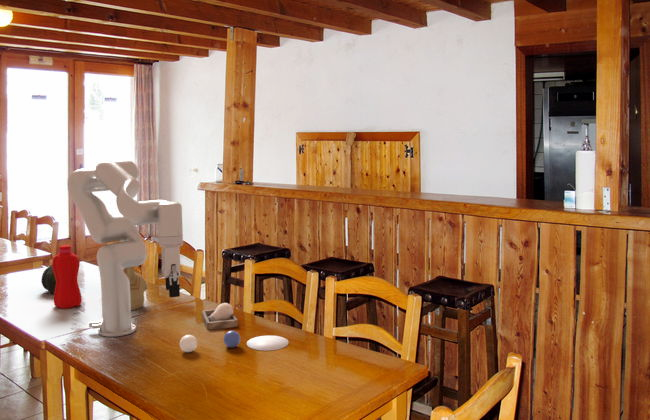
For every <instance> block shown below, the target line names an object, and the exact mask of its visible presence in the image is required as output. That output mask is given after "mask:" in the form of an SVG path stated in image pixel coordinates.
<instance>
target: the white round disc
mask: <svg viewBox="0 0 650 420" xmlns="http://www.w3.org/2000/svg"><path fill="white" fill-rule="evenodd" d="M289 343H290V342H289V340H288V339H287V338H286V337H283V336H279V335H260V336H255V337H252V338H250V339H249V340H247V342H246V346H247V347H248V348H250V349H252V350H256V351H265V352H267V351H268V352H269V351H277V350H281V349H284V348H285V347H287V346H288V345H289Z"/></svg>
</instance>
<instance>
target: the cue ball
mask: <svg viewBox="0 0 650 420" xmlns="http://www.w3.org/2000/svg"><path fill="white" fill-rule="evenodd" d="M179 347H180V349H181V351H183V352H185V353H191V352H194V351H195V349H196V348H197V347H198V340H197V338H196V337H195V335H193V334H186V335H184V336H182V337H181V339H180V341H179Z"/></svg>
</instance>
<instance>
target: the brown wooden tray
mask: <svg viewBox="0 0 650 420" xmlns="http://www.w3.org/2000/svg"><path fill="white" fill-rule="evenodd" d="M215 310H216V308H214V309H204V310H201V318H202V321H203V322H204V325H205V328H206V330H207V331H208V330H218V329H227V328H228V329H229V328H237V327H238V326H239V325H238V323H239V320H238V318H237V316H236V315H235V313H234V312H233V315H232V317H231V318H230V319H228V320H225V321H222V320H221V321H214V322H209V319H208V318H207V317H209V316H210V315H211V314H212V313H214V311H215Z"/></svg>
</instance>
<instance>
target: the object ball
mask: <svg viewBox="0 0 650 420" xmlns="http://www.w3.org/2000/svg"><path fill="white" fill-rule="evenodd" d="M240 343H241V336H240V334H239V332H238V331H235V330H229V331H226V333H225V334H224V336H223V344H224V345H225V346H226V347H228V348H236V347H237V346H238V345H239V344H240Z"/></svg>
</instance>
